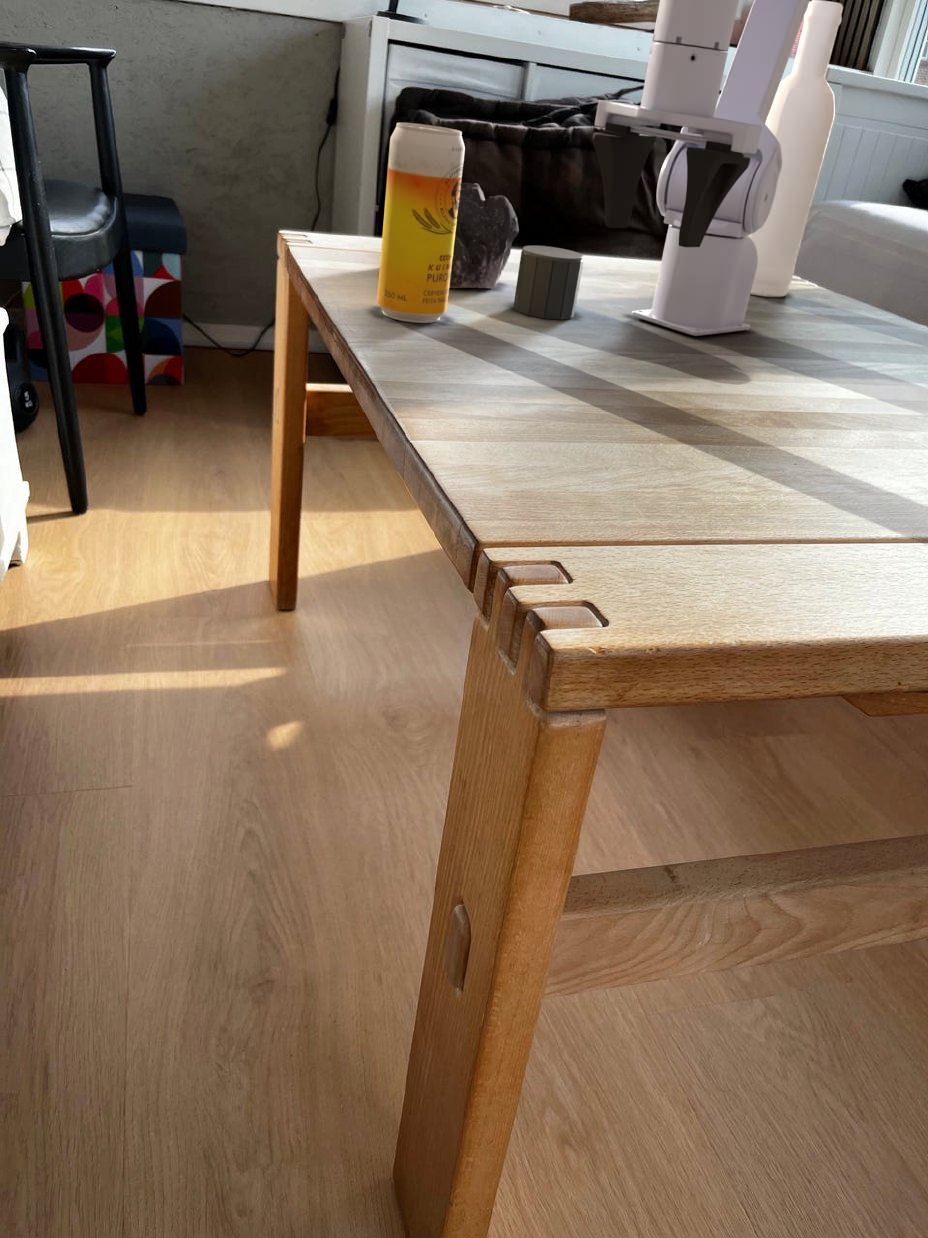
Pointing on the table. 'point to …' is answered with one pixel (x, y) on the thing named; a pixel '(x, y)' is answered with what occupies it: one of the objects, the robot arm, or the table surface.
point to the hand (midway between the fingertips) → (651, 236)
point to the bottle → (797, 148)
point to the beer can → (420, 221)
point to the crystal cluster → (481, 238)
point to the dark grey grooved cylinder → (548, 282)
